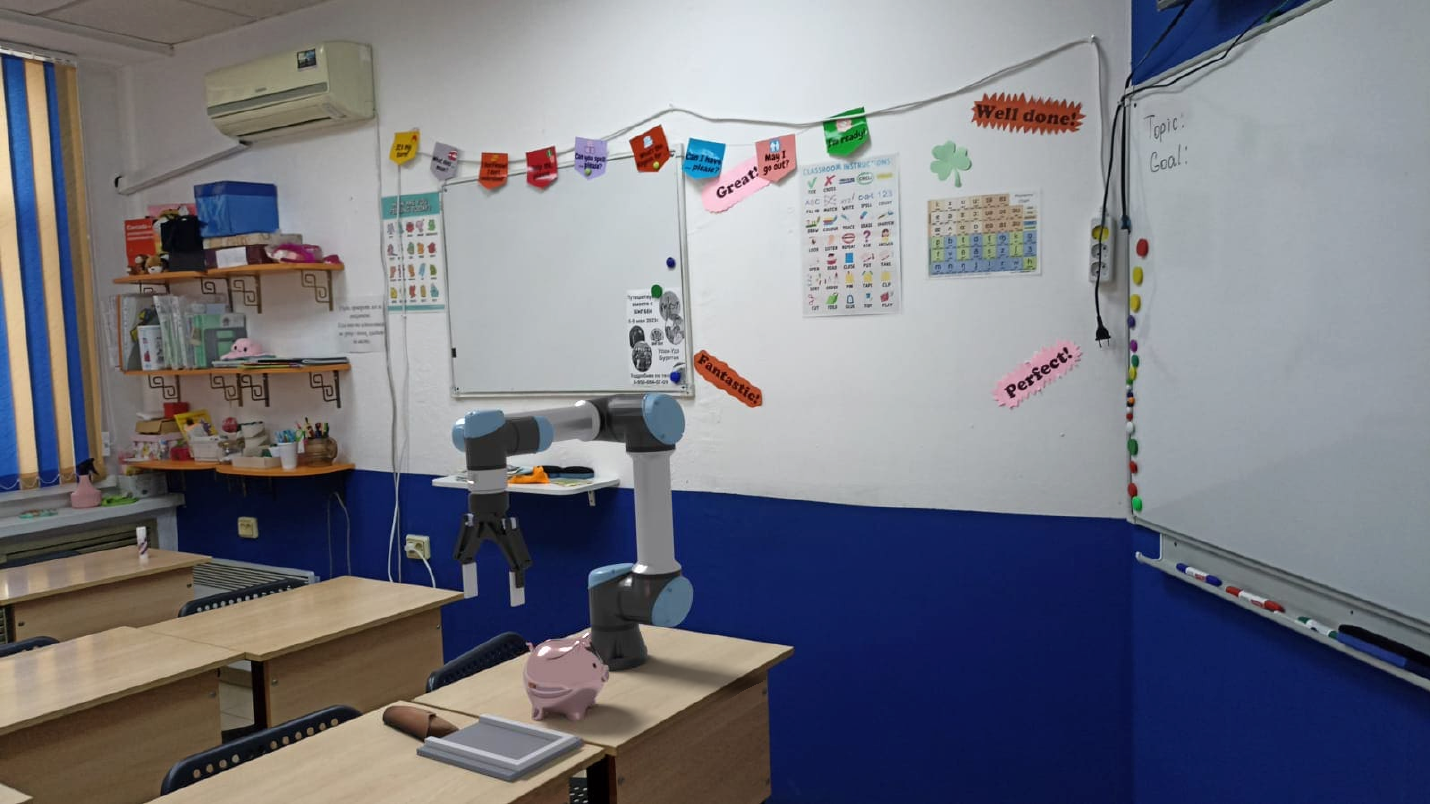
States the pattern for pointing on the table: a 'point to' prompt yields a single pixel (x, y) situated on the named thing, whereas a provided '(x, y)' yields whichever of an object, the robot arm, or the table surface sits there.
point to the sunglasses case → (418, 721)
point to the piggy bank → (564, 677)
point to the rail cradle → (499, 747)
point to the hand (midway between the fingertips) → (494, 600)
